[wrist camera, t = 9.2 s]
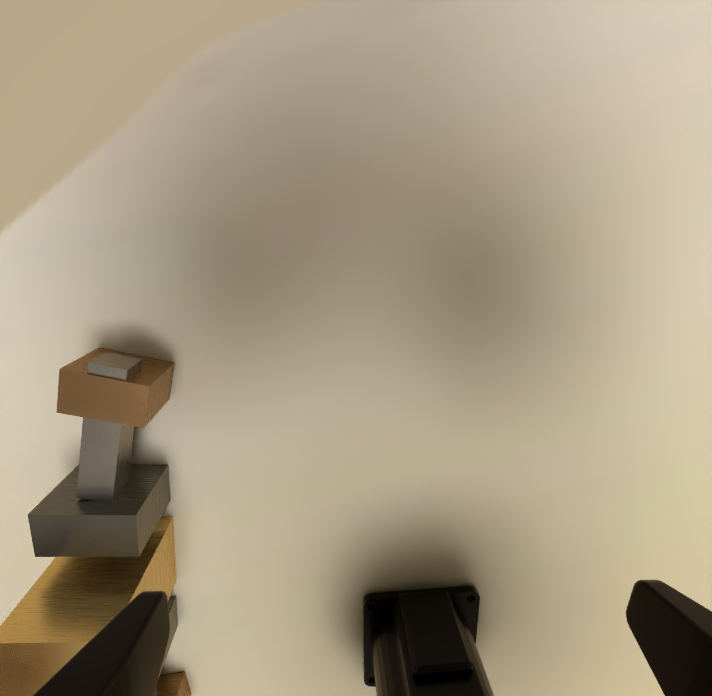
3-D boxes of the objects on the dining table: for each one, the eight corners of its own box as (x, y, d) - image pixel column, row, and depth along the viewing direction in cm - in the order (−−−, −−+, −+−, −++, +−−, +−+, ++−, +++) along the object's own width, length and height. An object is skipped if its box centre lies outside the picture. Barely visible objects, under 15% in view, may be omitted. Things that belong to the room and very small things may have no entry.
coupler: (173, 516, 21) (109, 641, 14) (176, 580, 22) (118, 722, 16) (88, 515, 20) (-14, 643, 14) (96, 581, 21) (4, 726, 15)
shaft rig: (64, 340, 18) (2, 367, 14) (173, 345, 18) (138, 373, 15) (110, 707, 24) (75, 788, 20) (191, 704, 24) (170, 783, 21)
